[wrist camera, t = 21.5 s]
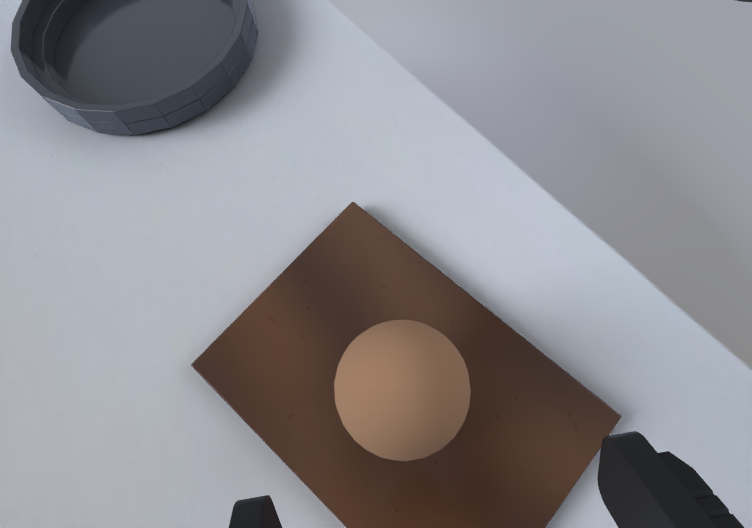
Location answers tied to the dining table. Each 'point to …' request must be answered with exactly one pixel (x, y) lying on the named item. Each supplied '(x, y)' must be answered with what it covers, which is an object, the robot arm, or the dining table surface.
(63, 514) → the dining table surface
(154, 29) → the pan
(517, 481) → the board
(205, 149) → the dining table surface
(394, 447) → the egg
